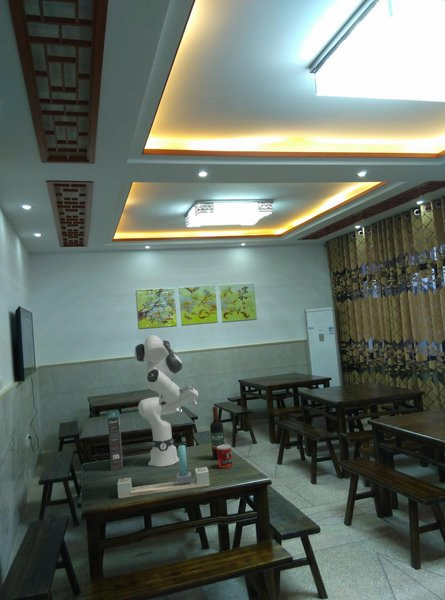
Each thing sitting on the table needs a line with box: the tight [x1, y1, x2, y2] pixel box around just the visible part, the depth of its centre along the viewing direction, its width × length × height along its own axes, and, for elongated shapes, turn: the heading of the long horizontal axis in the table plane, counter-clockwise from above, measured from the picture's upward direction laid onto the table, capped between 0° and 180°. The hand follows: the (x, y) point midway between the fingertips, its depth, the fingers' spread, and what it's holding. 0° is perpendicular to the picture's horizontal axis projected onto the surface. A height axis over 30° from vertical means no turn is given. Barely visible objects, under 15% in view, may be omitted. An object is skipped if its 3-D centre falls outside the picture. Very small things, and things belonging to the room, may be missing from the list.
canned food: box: [217, 444, 233, 470], centre depth 250 cm, size 8×8×11 cm
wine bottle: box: [209, 406, 225, 461], centre depth 267 cm, size 8×8×30 cm
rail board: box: [116, 466, 211, 499], centre depth 223 cm, size 8×44×7 cm, turn 99°
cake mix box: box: [107, 410, 124, 472], centre depth 272 cm, size 22×6×30 cm, turn 12°
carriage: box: [176, 444, 193, 484], centre depth 225 cm, size 7×7×17 cm
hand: (188, 407), depth 235 cm, fingers open, 8 cm apart
